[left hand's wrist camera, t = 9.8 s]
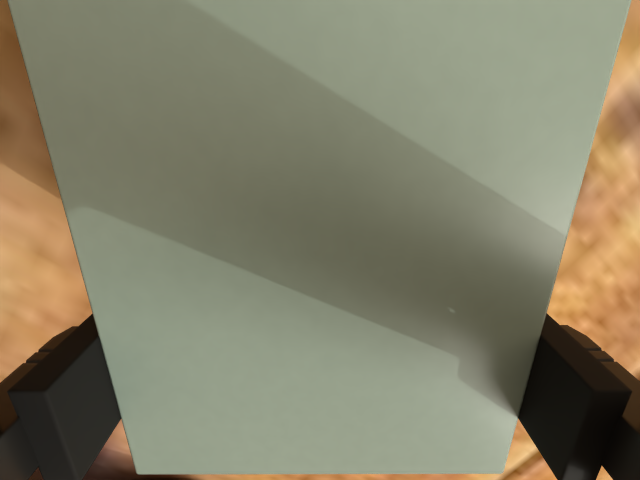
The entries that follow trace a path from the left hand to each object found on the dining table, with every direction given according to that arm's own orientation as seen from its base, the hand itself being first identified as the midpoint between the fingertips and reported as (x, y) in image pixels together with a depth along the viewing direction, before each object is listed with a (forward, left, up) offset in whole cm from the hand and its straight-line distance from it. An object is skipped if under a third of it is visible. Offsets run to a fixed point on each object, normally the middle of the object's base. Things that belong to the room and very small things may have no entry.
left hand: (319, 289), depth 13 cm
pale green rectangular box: (+4, -4, -5) cm, 8 cm away
